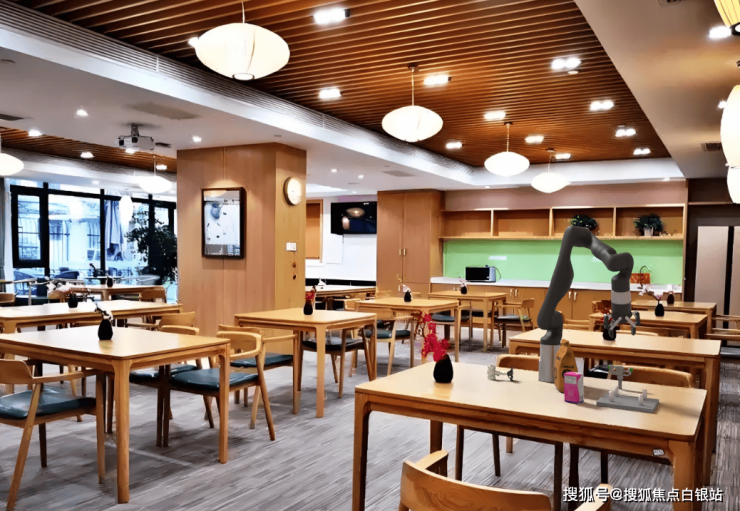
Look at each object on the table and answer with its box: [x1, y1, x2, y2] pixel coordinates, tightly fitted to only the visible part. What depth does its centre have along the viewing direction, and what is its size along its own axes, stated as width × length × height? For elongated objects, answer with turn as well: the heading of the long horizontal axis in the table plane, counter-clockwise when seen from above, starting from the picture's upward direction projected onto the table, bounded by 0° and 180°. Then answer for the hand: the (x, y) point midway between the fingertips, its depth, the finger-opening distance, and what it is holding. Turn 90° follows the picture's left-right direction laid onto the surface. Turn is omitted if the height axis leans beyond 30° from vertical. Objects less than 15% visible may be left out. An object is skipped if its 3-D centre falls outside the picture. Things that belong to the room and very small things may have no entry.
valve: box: [486, 364, 515, 382], centre depth 282 cm, size 7×7×12 cm
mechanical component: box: [607, 364, 634, 390], centre depth 264 cm, size 3×10×10 cm, turn 53°
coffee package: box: [554, 338, 579, 393], centre depth 259 cm, size 10×12×22 cm
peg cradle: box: [595, 385, 660, 414], centre depth 235 cm, size 20×20×6 cm
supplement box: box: [563, 372, 585, 405], centre depth 238 cm, size 6×6×12 cm
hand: (622, 336), depth 248 cm, fingers open, 8 cm apart
